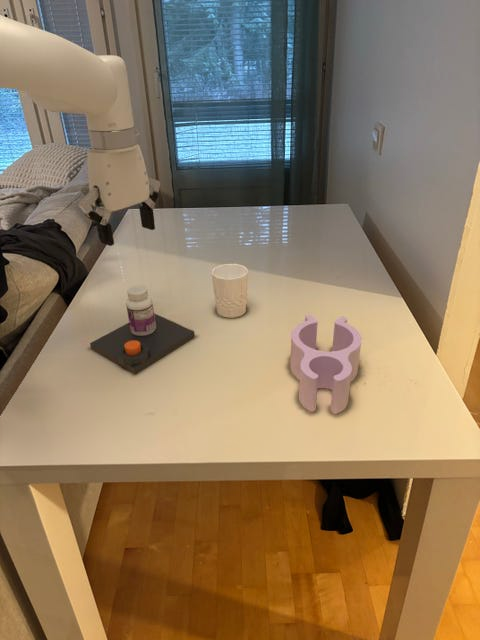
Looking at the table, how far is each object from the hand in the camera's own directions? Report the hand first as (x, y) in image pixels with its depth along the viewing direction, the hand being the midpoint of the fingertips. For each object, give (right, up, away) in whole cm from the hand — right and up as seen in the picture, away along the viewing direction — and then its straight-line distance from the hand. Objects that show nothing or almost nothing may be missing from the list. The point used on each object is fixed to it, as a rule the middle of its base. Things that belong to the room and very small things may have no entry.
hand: (128, 235), depth 87 cm
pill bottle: (+1, -18, +11) cm, 21 cm away
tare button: (0, -22, +2) cm, 22 cm away
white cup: (+19, -14, +20) cm, 31 cm away
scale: (+1, -21, +9) cm, 22 cm away
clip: (+36, -26, -2) cm, 45 cm away
